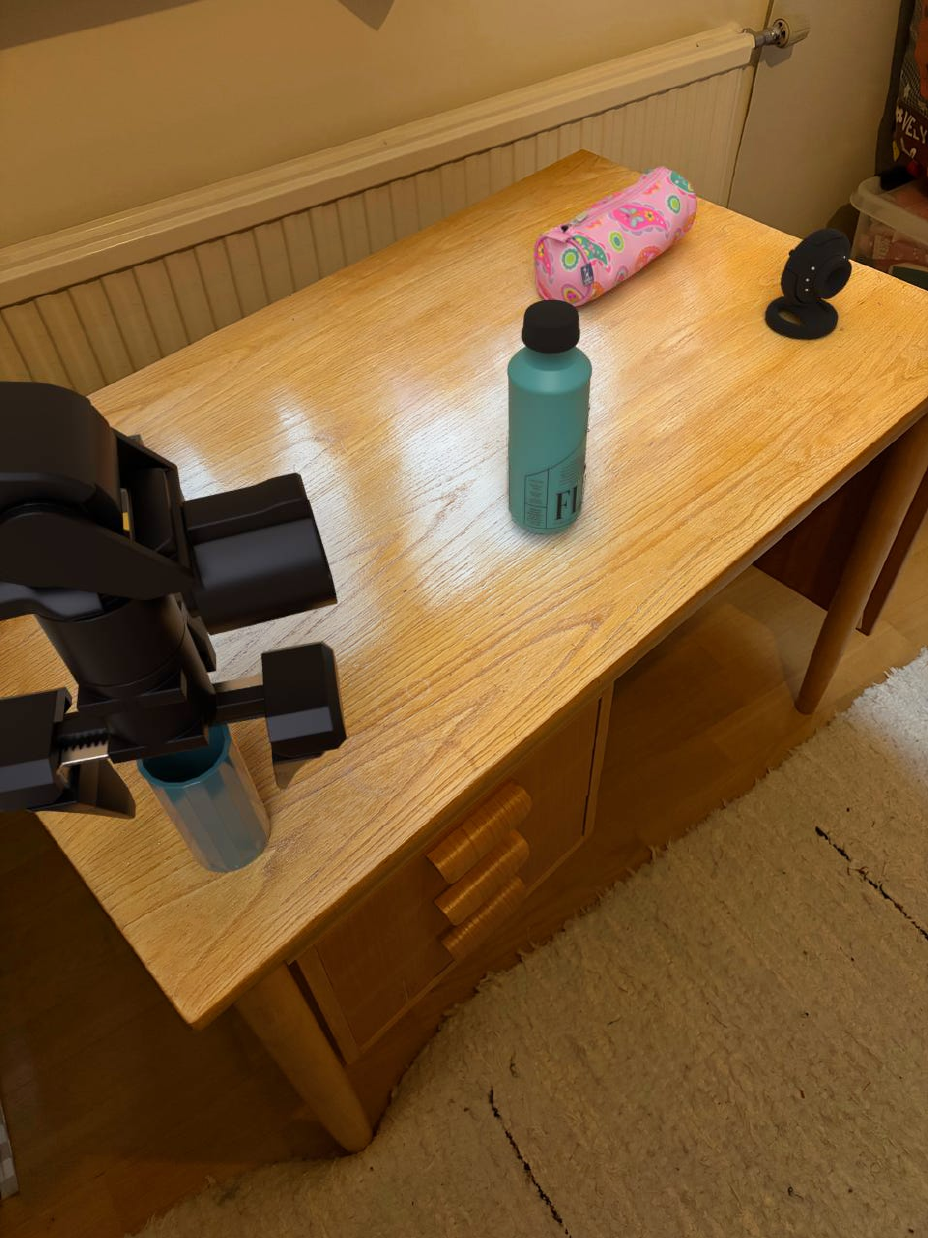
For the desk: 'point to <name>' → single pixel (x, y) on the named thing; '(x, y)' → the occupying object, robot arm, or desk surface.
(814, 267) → the webcam
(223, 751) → the cup
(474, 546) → the desk surface
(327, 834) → the desk surface
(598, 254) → the pencil case
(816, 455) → the desk surface
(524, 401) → the beverage bottle
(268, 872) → the desk surface
